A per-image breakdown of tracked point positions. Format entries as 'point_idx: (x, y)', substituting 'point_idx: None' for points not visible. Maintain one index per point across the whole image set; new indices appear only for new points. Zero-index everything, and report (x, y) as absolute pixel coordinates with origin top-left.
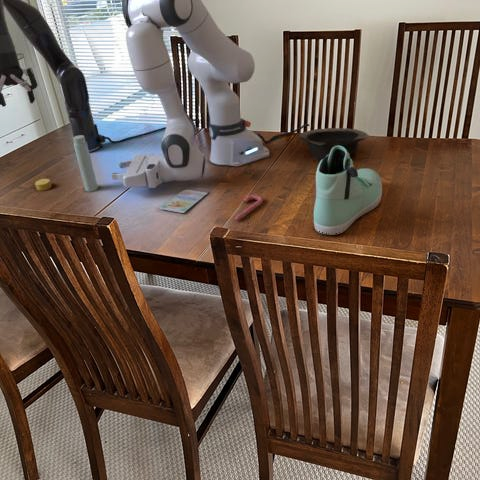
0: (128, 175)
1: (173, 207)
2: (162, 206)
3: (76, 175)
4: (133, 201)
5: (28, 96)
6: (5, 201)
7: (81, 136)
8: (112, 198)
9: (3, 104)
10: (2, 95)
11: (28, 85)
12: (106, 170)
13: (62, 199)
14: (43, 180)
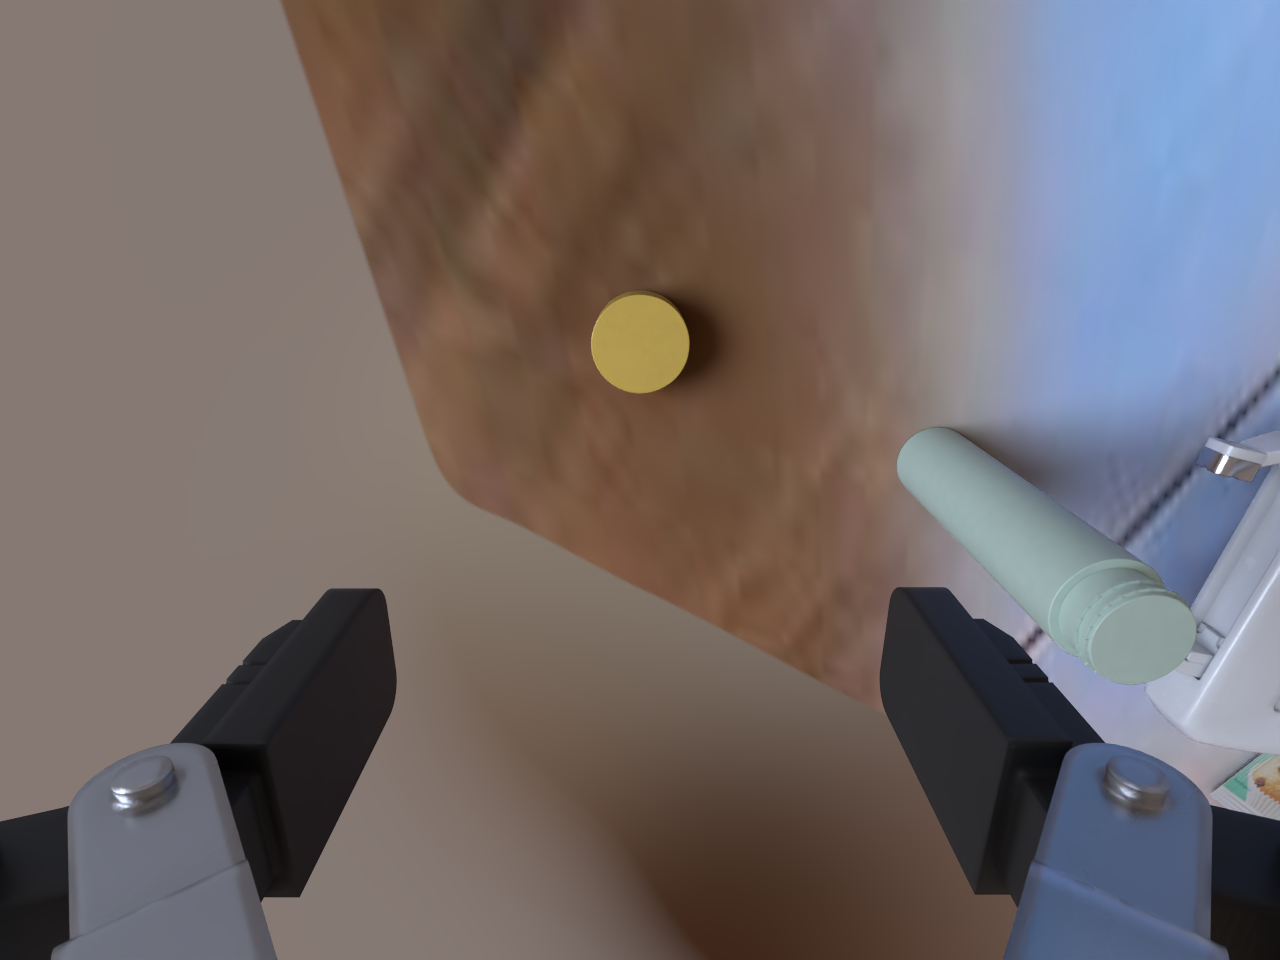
0: (1223, 740)
1: (1270, 806)
2: (1229, 782)
3: (845, 193)
4: None
5: (933, 806)
6: (440, 465)
7: (1172, 633)
8: (1027, 615)
9: (375, 727)
10: (299, 763)
11: (1150, 891)
12: (1062, 175)
13: (767, 544)
14: (644, 325)
